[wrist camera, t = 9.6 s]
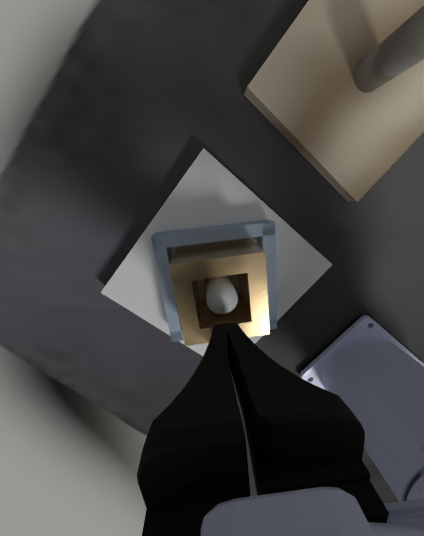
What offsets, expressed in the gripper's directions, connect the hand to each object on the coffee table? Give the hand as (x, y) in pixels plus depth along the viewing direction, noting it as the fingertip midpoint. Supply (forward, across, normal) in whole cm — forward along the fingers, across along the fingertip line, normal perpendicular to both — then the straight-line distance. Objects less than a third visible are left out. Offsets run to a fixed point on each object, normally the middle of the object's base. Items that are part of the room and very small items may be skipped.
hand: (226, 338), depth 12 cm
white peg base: (+5, 0, -2) cm, 6 cm away
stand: (+5, -10, -13) cm, 17 cm away
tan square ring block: (+4, 0, -2) cm, 5 cm away
